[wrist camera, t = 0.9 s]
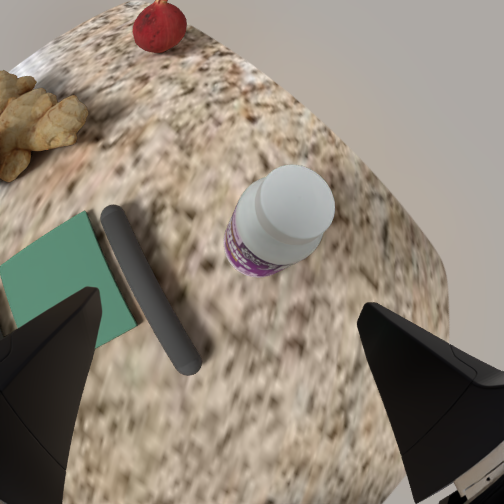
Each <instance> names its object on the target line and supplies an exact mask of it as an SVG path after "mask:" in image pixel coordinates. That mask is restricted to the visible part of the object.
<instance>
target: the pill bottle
mask: <svg viewBox="0 0 504 504" xmlns="http://www.w3.org/2000/svg"><path fill="white" fill-rule="evenodd" d="M334 213H335V201H334V197H333V194H332V192H331V190H330V188H329V186H328V184H327V183H326V182H325V181H324V179H323V178H322V177H321V176H319V175H318V174H317V173H316V172H314V171H312V170H311V169H309V168H306V167H304V166H300V165H285V166H281V167H278V168H276V169H274V170H273V171H271V172H270V173H269V174H268V175H267V176H266V177H264V178H261V179H259V180H257V181H255V182H254V183H252V184H251V185H250V186H249V187H248V188H247V189H246V190H245V191H244V192H243V194H242V195H241V197H240V199H239V201H238V203H237V206H236V208H235V210H234V213H233V215H232V217H231V219H230V221H229V224H228V226H227V228H226V231H225V235H224V250H225V254H226V256H227V258H228V260H229V262H230V263H231V265H232V266H233V267H234V268H235V269H236V270H238V271H239V272H241V273H242V274H244V275H247V276H251V277H266V276H270V275H272V274H275V273H277V272H279V271H281V270H283V269H285V268H287V267H289V266H291V265H293V264H295V263H297V262H299V261H301V260H303V259H305V258H307V257H308V256H309V255H310V254H311V253H312V252H313V251H314V250H315V249H316V248H317V246H318V245H319V243H320V241H321V239H322V236H323V233H324V232H325V231H326V230H327V229H328V227H329V226H330V225H331V223H332V220H333V218H334Z"/></svg>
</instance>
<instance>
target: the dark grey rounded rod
mask: <svg viewBox="0 0 504 504" xmlns="http://www.w3.org/2000/svg"><path fill="white" fill-rule="evenodd" d="M101 223H102V226H103V228H104V231H105V233H106V235H107V238H108V240H109V242H110V245H111V247H112V249H113V252H114V254H115V256H116V258H117V260H118V263H119V265H120V267H121V269H122V271H123V273H124V275H125V278H126V280H127V282H128V284H129V286H130V288H131V290H132V292H133V294H134V296H135V298H136V300H137V302H138V303H139V305H140V307H141V309H142V311H143V313H144V315H145V317H146V318H147V320H148V322H149V324H150V326H151V328H152V329H153V331H154V333H155V335H156V336H157V338H158V340H159V342H160V343H161V345H162V347H163V348H164V350H165V352H166V353H167V355H168V357H169V358H170V360H171V362H172V363H173V365H174V366H175V368H176V369H177V371H178V372H179V373H181V374H183V375H194V374H196V373H197V372H198V371H199V370H200V368H201V365H202V360H201V357H200V355H199V353H198V352H197V350H196V348H195V347H194V345H193V343H192V342H191V340H190V338H189V337H188V335H187V333H186V332H185V330H184V328H183V326H182V325H181V323H180V321H179V319H178V318H177V316H176V314H175V312H174V311H173V309H172V307H171V305H170V303H169V302H168V300H167V298H166V296H165V294H164V292H163V290H162V289H161V287H160V285H159V283H158V281H157V279H156V277H155V275H154V273H153V271H152V269H151V267H150V265H149V263H148V261H147V259H146V257H145V255H144V253H143V251H142V249H141V247H140V245H139V243H138V241H137V239H136V237H135V235H134V232H133V230H132V228H131V226H130V224H129V222H128V219H127V217H126V215H125V213H124V211H123V209H122V208H121V207H120V206H118V205H109V206H107V207H106V208H104V210H103V211H102V213H101Z"/></svg>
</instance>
